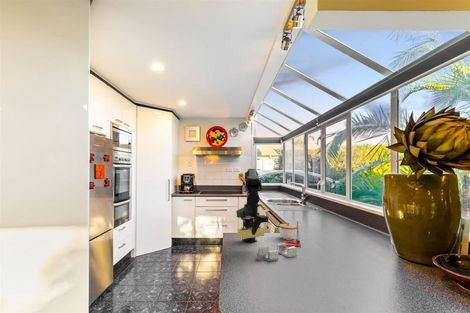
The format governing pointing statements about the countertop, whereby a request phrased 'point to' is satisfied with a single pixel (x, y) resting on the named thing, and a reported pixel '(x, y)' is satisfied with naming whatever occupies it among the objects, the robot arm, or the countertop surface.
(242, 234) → the link
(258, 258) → the chain ends
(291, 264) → the countertop surface
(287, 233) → the lidded jar
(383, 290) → the countertop surface
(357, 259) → the countertop surface
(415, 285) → the countertop surface
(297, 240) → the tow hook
